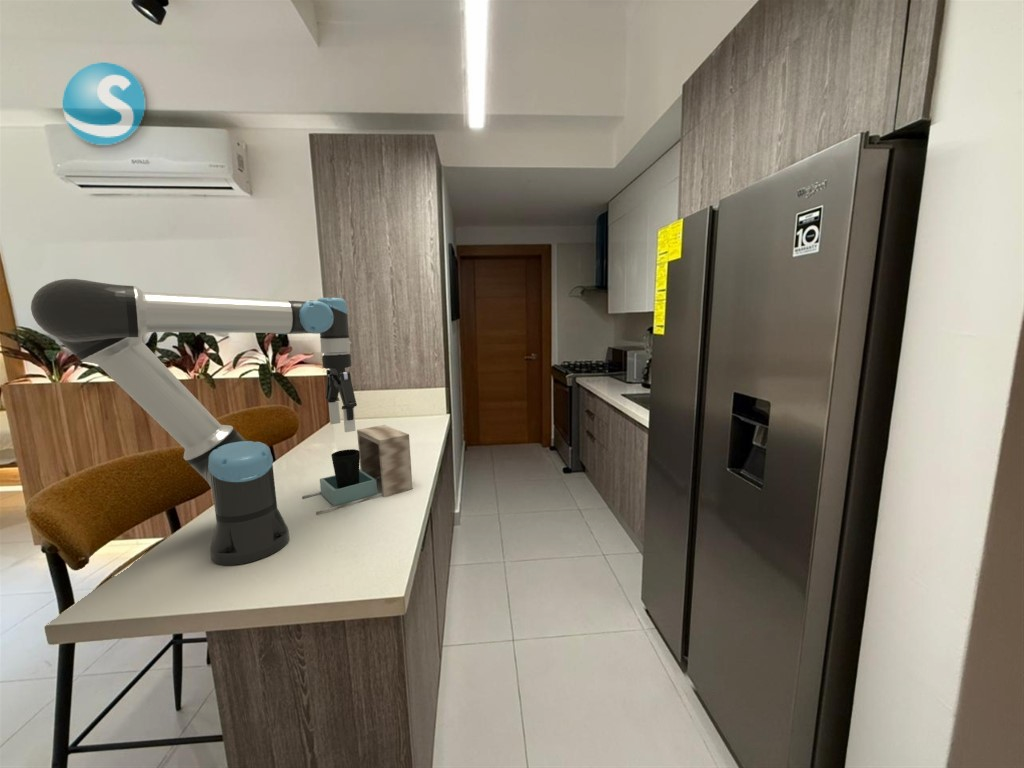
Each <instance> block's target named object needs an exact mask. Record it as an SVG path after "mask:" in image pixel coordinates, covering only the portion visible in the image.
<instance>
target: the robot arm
mask: <svg viewBox="0 0 1024 768" xmlns="http://www.w3.org/2000/svg"><path fill="white" fill-rule="evenodd" d="M32 297H33V298H32V300H31V302H30V311H31V315H32V317H33V320H34V321H35V322H36V324H37V325H38V326H39V327H40V328H41V329H42V330H43V331H44V332H46V333H48V334H49V335H51V336H53V337H54V338H56V339H57V340H58V341H59V342H60V343H61V344H62V345H63V346H64V347H66V348H67V349H68V350H69V351H70V352H71V353H72V354H73V355H74V356H75V357H76V358H77V359H78V360H79V361H80V362H83V363H90V364H94V365H97V366H99V368H101V370H103V372H105V373H106V375H108V376H109V377H110V378H111V379H112V380H113V381H114V382H115V383H116V384H117V385H118V386H119V387H120V388H121V389H122V390H123V391H124V392H125V393H127V394H128V395H129V396H130V397H131V399H132V400H133V401H135V402H136V404H138V405H139V406H140V407H141V408H142V409H143V410H144V412H146V413H147V414H148V415H149V416H150V417H151V418H152V419H153V420H154V421H155V422H157V424H159V426H161V428H163V429H164V430H165V431H166V432H167V433H168V434H169V435H170V436H171V437H172V438H173V439H174V440H175V441H176V442H177V443H178V444H179V445H180V446H181V447H182V448H183V449H184V452H183V459H184V460H185V461H186V463H187V464H189V465H190V467H192V468H193V469H194V470H195V471H196V472H197V473H198V475H200V476H201V477H202V478H203V479H204V480H205V481H206V482H207V483H208V485H209V487H210V488H211V491H212V497H213V504H214V512H215V519H216V522H215V523H216V524H215V528H214V531H213V535H212V538H211V542H210V543H211V544H210V549H209V552H210V558H211V561H212V562H213V563H215V564H217V565H221V566H235V565H236V566H237V565H243V564H248V563H252V562H255V561H259V560H261V559H263V558H267V557H269V556H271V555H273V554H275V553H276V552H278V551H280V550H281V549H282V548H284V547H285V546H286V545H287V544H288V542H289V541H290V533H289V531H290V530H289V528H288V525H287V523H286V521H285V520H284V518H283V516H282V515H281V513H280V510H279V508H278V502H277V491H276V483H275V475H274V474H275V473H274V466H273V463H274V458H273V455H272V452H271V448H270V447H269V446H268V444H267V443H263V442H261V441H252V440H246V439H245V438H244V437H243V436H242V435H241V434H240V433H239V431H237V430H236V429H235V428H234V427H233V425H229V424H227V425H226V424H221V423H220V422H219V421H218V420H217V419H216V418H215V417H214V416H213V415H212V413H210V412H209V411H208V410H207V409H206V407H205V406H204V405H203V404H202V403H201V402H200V401H199V399H198V398H197V397H195V396H194V394H193V393H191V391H190V390H189V389H188V388H187V387H186V386H185V385H184V384H183V383H182V382H181V380H180V379H179V378H177V377H176V375H174V373H173V372H172V371H171V370H170V369H169V368H168V367H167V366H166V365H165V363H163V362H162V361H161V360H160V359H159V357H158V356H156V354H155V353H154V352H153V351H152V350H151V349H150V348H149V347H148V346H147V345H146V344H145V343H144V342H143V336H144V335H146V333H229V334H230V333H235V334H238V333H241V334H242V333H246V334H247V333H250V334H251V333H257V334H261V333H263V334H266V333H267V334H268V333H270V334H271V333H272V334H275V335H285V336H286V335H294V334H295V335H297V334H298V335H299V334H316V335H317V334H319V337H320V338H319V340H320V341H319V343H320V352H321V354H323V355H322V356H321V360H322V361H321V362H322V368H323V369H326V371H325V372H326V382H325V383H326V387H325V400H327V403H328V412H329V424H330V425H337V424H341V415H340V403H339V402H340V399H341V403H342V406H341V410H342V414H343V415H342V416H343V425H344V427H343V428H344V433H350V432H357V429H356V419H355V408H356V407H357V406H358V405H357V401H356V397H355V396H356V395H355V393H354V387H353V384H352V383H353V382H352V379H351V377H352V376H351V372H350V371H346V368H347V369H348V368H351V367H352V356H351V354H350V351H351V345H352V342H351V341H350V334H349V318H348V317H349V314H348V307H347V303H346V300H345V299H343V298H342V297H320V298H318V299H317V300H308V301H306V300H305V301H303V300H301V301H300V300H287V299H286V300H285V299H268V298H254V297H253V298H252V297H251V298H250V297H236V296H235V297H234V296H232V297H231V296H220V295H219V296H217V295H215V296H214V295H201V294H182V293H166V292H163V293H162V292H149V291H148V292H145V291H142V289H140V288H138V287H137V286H136V285H125V284H112V283H105V282H104V283H103V282H97V281H92V280H85V279H77V278H64V279H57V280H54V281H51V282H49V283H46V284H45V285H42V287H40V288H38V290H37V291H36V292H35V293H34V295H33V296H32ZM339 396H340V398H339Z"/></svg>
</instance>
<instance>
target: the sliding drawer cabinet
mask: <svg viewBox="0 0 1024 768" xmlns="http://www.w3.org/2000/svg"><path fill="white" fill-rule="evenodd" d="M356 432H357V433H356V434H357V444H358V445H357V446H358V450H359V452H360V457H359V469H360V470H362V471H363V472H365V473H366V474H368V475H369V476H371V477H373V478H374V479H376V480H380V481H381V491H382V492H380V493H377V495H373V496H370V497H366V498H363V499H359V500H356V501H352V502H349V503H346V504H342V505H339V506H335V507H334V506H332V507H329V508H324V509H321V510H318V511H316V513H315V514H316V515H321V514H325V513H328V512H333V511H334V510H335V511H336V510H338V509H341V508H345V507H348V506H349V507H350V506H352V505H355V504H359V503H362V502H367V501H369V500H371V499H373V500H374V499H376V498H379V497H383V498H386V497H391V496H394V495H396V494H400V493H404V492H407V491H410V490H413V488H414V487H413V475H412V461H411V460H412V458H411V443H410V442H411V441H410V434H408V433H406V432H404V431H401V430H398V429H397V428H394V427H391V426H388V425H386V424H381V425H376V426H371V427H365V428H359V429H356ZM320 495H322V494H321V491H318V492H313V493H309V494H306V495H302V496H301V498H302V499H308V498H311V497H315V496H320Z"/></svg>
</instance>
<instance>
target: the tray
mask: <svg viewBox="0 0 1024 768" xmlns="http://www.w3.org/2000/svg"><path fill="white" fill-rule="evenodd" d="M319 485H320V492H321V494H320V495H321V496H323V497H324V498H325V499H326V500H327V501H328V502H329V503H330V504H331V505H332V507H335V506H339V505H342V504H346V503H349V502H352V501H356V500H359V499H363V498H366V497H370V496H373V495H377V494H378V487H377V486H378V485H377V479H374V478H373V477H371V476H369V475H368V474H366V473H365V472H363V471H362V470H360V468H359V484H355V485H351V486H347V487H344V488H340V489H338V487H337V482H336V477H335V474H334V475H330V476H326V477H322V478H319Z"/></svg>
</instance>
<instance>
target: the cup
mask: <svg viewBox="0 0 1024 768" xmlns="http://www.w3.org/2000/svg"><path fill="white" fill-rule="evenodd" d="M359 457H360V452H359V449H354V448H353V449H342V450H338V451H334V452H333V453H331V459H332V460H331V461H332V466H333V467H332V468H333V471H334V475H335V477H336V482H337V487H338V489H340V488H344V487H347V486H351V485H355V484H359V469H360V459H359Z"/></svg>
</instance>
